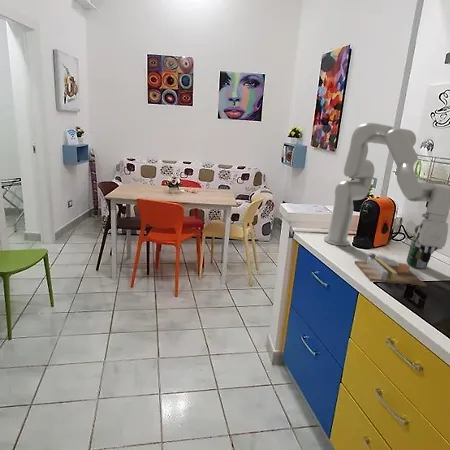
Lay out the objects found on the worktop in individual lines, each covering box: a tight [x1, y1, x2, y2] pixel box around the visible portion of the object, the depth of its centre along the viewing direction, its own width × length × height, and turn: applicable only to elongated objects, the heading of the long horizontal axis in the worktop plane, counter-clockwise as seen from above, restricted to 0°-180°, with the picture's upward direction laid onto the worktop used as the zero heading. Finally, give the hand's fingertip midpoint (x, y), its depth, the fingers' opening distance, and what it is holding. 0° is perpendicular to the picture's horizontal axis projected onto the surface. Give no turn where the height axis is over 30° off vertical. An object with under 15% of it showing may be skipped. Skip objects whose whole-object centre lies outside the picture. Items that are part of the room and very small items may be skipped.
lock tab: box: [397, 262, 410, 274], centre depth 145 cm, size 3×3×4 cm
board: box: [354, 260, 427, 288], centre depth 144 cm, size 18×22×2 cm
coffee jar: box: [406, 224, 429, 270], centre depth 156 cm, size 10×8×19 cm
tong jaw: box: [374, 257, 397, 281], centre depth 142 cm, size 15×2×4 cm, turn 3°
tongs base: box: [366, 252, 388, 281], centre depth 143 cm, size 18×3×4 cm, turn 179°
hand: (424, 261), depth 143 cm, fingers closed
